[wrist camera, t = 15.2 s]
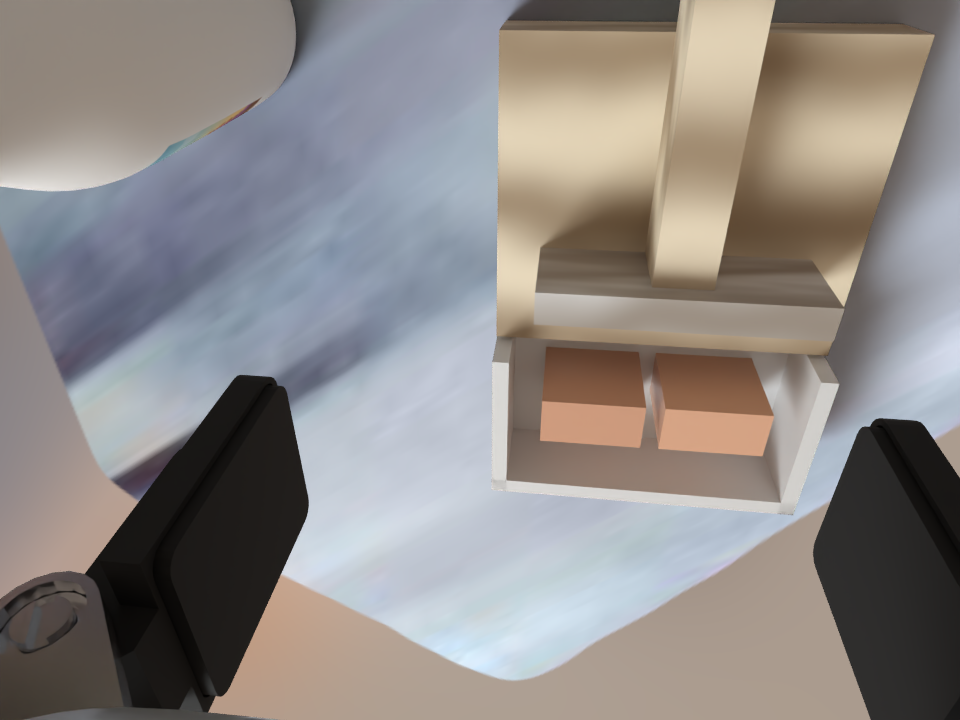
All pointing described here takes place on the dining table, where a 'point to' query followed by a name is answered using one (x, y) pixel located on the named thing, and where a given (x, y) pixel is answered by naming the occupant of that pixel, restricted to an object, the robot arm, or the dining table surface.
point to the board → (636, 142)
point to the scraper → (695, 211)
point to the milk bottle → (128, 81)
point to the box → (648, 470)
